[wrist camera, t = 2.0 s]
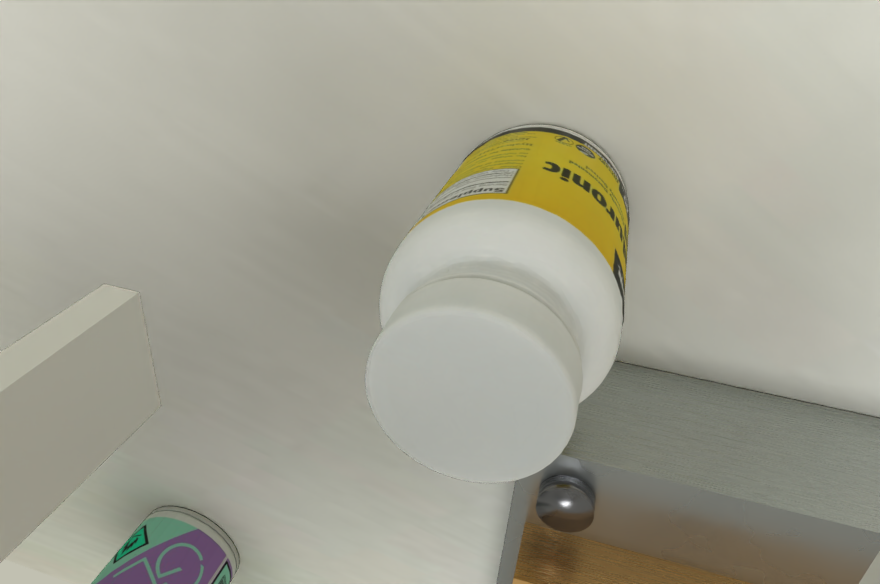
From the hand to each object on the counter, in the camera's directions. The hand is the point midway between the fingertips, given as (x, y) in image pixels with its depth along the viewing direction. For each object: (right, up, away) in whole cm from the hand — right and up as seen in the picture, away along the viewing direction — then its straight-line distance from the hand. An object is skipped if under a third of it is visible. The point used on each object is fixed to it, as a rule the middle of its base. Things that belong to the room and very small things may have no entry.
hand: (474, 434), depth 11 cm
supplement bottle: (+2, +5, +9) cm, 11 cm away
